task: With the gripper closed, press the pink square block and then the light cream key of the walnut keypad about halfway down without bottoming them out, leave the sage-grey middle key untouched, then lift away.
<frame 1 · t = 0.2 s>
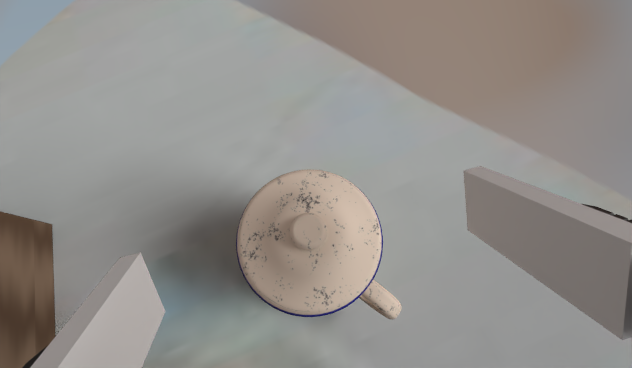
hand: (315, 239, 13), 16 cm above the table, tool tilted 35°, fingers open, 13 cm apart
teacup with lid: (325, 263, 29), on the table
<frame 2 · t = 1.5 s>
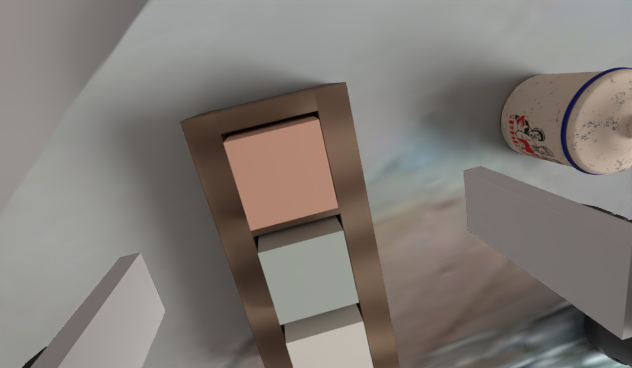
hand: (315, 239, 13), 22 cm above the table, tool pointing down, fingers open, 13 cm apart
cream key: (328, 343, 33), point 7 cm above the table, slide at 0.0 cm
teacup with lid: (541, 123, 37), on the table
slate key: (307, 263, 30), point 7 cm above the table, slide at 0.0 cm
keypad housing: (300, 232, 37), on the table
pink square block: (282, 169, 27), point 7 cm above the table, slide at 0.0 cm
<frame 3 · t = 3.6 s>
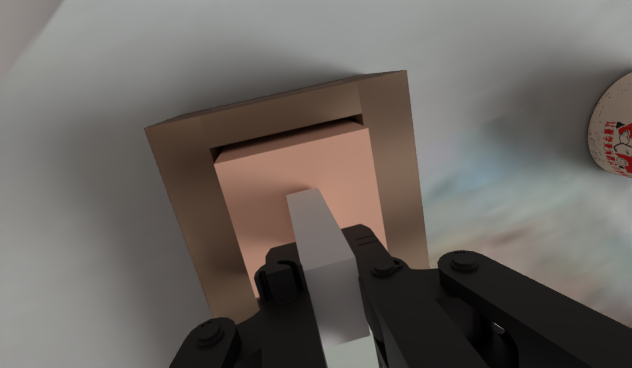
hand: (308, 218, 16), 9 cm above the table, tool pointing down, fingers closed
slate key: (335, 335, 21), point 7 cm above the table, slide at 0.0 cm
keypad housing: (317, 274, 27), on the table
pink square block: (303, 199, 18), point 7 cm above the table, slide at 0.3 cm, touching gripper
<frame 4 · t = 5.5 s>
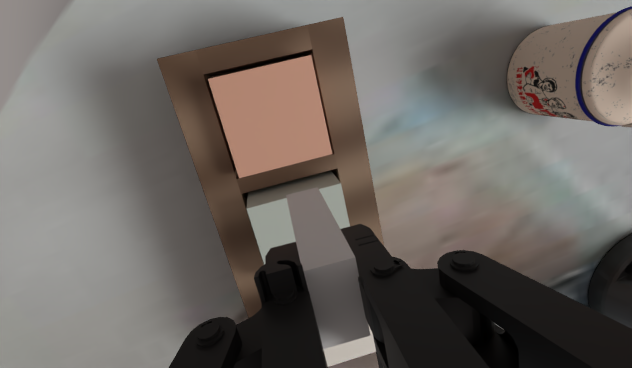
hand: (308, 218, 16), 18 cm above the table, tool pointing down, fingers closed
cream key: (324, 312, 30), point 7 cm above the table, slide at 0.0 cm
teacup with lid: (549, 81, 35), on the table
slate key: (301, 224, 28), point 7 cm above the table, slide at 0.0 cm
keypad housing: (293, 197, 34), on the table
pink square block: (272, 115, 26), point 6 cm above the table, slide at 1.1 cm
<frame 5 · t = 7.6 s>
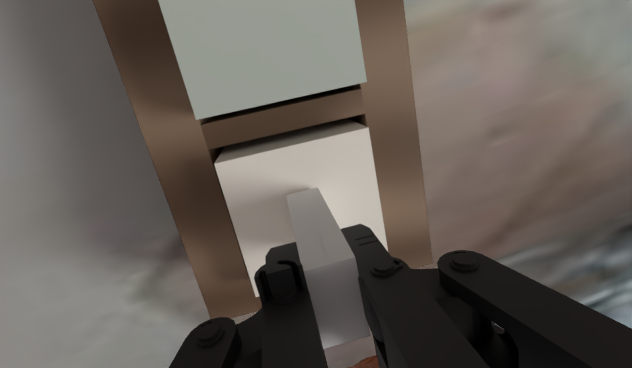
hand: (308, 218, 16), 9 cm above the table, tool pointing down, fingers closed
cream key: (303, 199, 18), point 6 cm above the table, slide at 0.8 cm, touching gripper
slate key: (261, 17, 15), point 7 cm above the table, slide at 0.0 cm
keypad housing: (262, 38, 21), on the table
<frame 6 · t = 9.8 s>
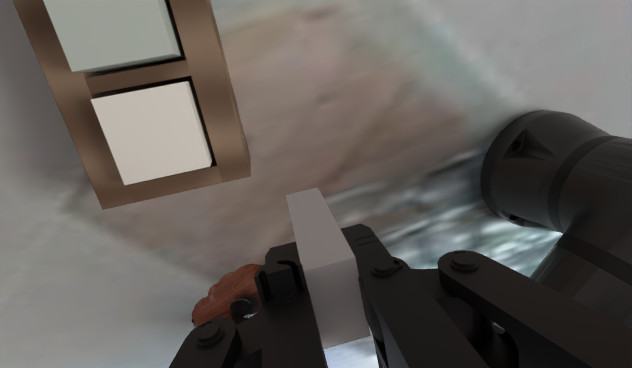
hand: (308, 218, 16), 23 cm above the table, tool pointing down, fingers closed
cream key: (161, 130, 29), point 6 cm above the table, slide at 1.1 cm
figurine: (254, 308, 44), on the table
slate key: (118, 14, 25), point 7 cm above the table, slide at 0.0 cm
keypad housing: (145, 27, 32), on the table
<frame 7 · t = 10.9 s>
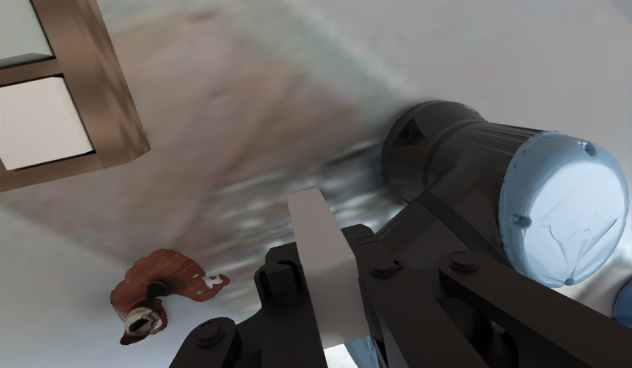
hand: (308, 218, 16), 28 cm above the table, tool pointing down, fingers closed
cream key: (45, 122, 33), point 6 cm above the table, slide at 1.1 cm
figurine: (171, 291, 47), on the table
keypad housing: (40, 32, 36), on the table
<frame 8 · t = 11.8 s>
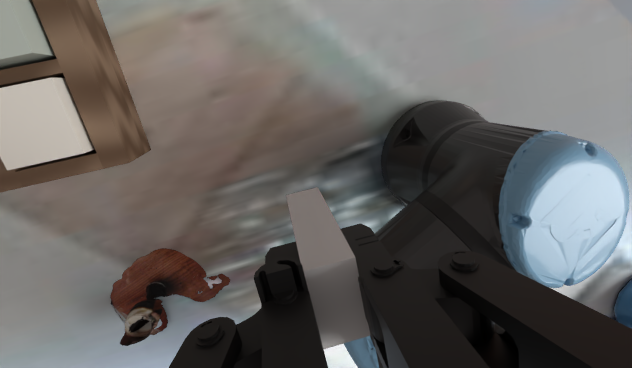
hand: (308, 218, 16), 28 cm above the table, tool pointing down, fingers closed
cream key: (45, 122, 33), point 6 cm above the table, slide at 1.1 cm
figurine: (171, 292, 47), on the table
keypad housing: (40, 32, 36), on the table
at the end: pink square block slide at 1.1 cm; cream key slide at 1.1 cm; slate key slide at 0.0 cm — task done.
